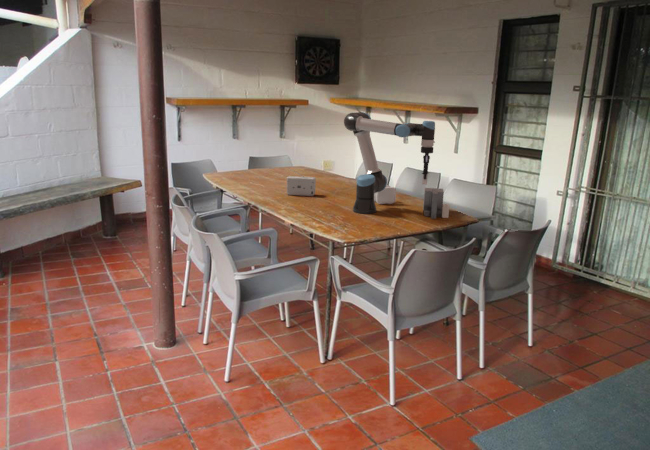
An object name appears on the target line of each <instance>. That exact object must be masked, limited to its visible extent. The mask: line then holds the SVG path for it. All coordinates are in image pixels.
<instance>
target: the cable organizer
mask: <svg viewBox="0 0 650 450" xmlns="http://www.w3.org/2000/svg"><path fill="white" fill-rule="evenodd" d="M396 195H397V188H396V187H393V186H390V185H388V184H387V185H386V187H385V189H384V190H382V191H380V192H376V193H374V202H375V203H377V204H379V205H385V204H388V205H391V204H394V203H396V198H397V196H396Z"/></svg>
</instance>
